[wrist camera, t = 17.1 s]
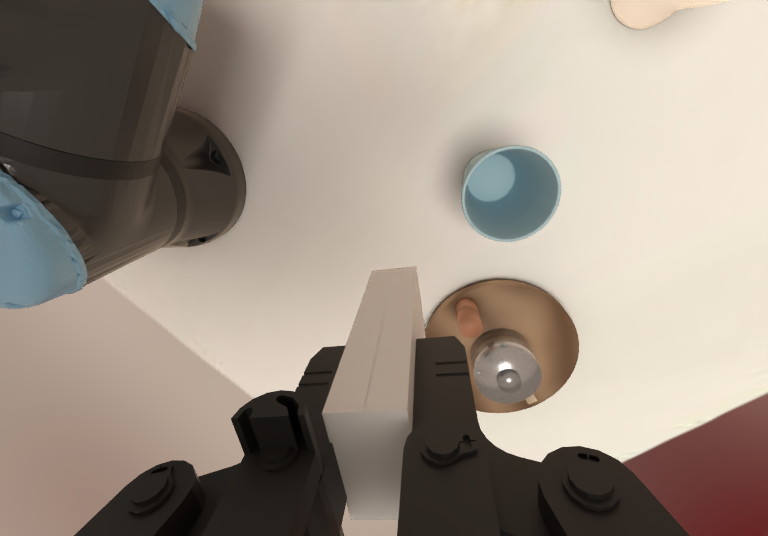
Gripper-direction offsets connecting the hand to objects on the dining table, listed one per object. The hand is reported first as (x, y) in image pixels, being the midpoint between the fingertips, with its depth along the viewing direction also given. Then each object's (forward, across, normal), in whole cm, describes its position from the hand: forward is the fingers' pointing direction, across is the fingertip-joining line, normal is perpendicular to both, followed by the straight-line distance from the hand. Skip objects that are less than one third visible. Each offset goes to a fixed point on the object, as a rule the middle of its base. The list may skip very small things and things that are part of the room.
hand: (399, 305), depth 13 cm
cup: (+30, +8, -1) cm, 31 cm away
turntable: (+29, +7, -22) cm, 37 cm away
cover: (+27, +7, -22) cm, 35 cm away
